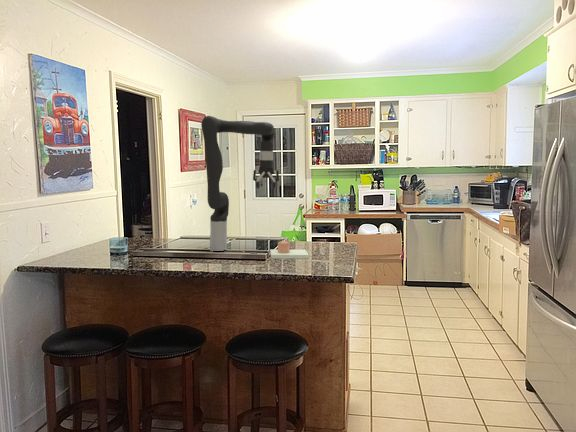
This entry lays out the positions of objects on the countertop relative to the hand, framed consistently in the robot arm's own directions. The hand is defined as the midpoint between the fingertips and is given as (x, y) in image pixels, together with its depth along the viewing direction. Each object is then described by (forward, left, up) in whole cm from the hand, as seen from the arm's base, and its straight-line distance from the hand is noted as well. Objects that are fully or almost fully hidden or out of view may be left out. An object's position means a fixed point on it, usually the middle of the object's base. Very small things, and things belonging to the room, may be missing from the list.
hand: (265, 188), depth 266 cm
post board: (+13, -10, -36) cm, 39 cm away
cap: (+10, -10, -34) cm, 37 cm away
